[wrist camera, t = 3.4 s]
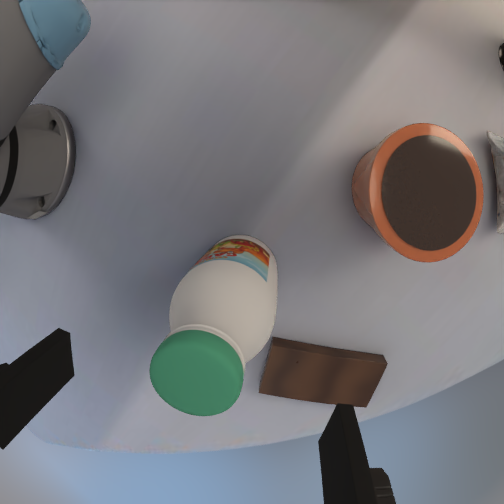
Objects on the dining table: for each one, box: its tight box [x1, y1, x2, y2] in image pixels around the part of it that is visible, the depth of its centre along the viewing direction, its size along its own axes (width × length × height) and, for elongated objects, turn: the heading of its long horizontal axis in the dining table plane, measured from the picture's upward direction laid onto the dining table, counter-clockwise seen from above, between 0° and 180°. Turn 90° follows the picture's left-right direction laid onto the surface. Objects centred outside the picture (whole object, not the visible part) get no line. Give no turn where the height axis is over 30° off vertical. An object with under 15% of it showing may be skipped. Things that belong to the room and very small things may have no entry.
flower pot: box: [352, 123, 483, 262], centre depth 25 cm, size 11×11×9 cm
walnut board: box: [259, 337, 388, 407], centre depth 34 cm, size 14×7×2 cm, turn 79°
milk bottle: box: [150, 235, 278, 416], centre depth 23 cm, size 8×8×20 cm
